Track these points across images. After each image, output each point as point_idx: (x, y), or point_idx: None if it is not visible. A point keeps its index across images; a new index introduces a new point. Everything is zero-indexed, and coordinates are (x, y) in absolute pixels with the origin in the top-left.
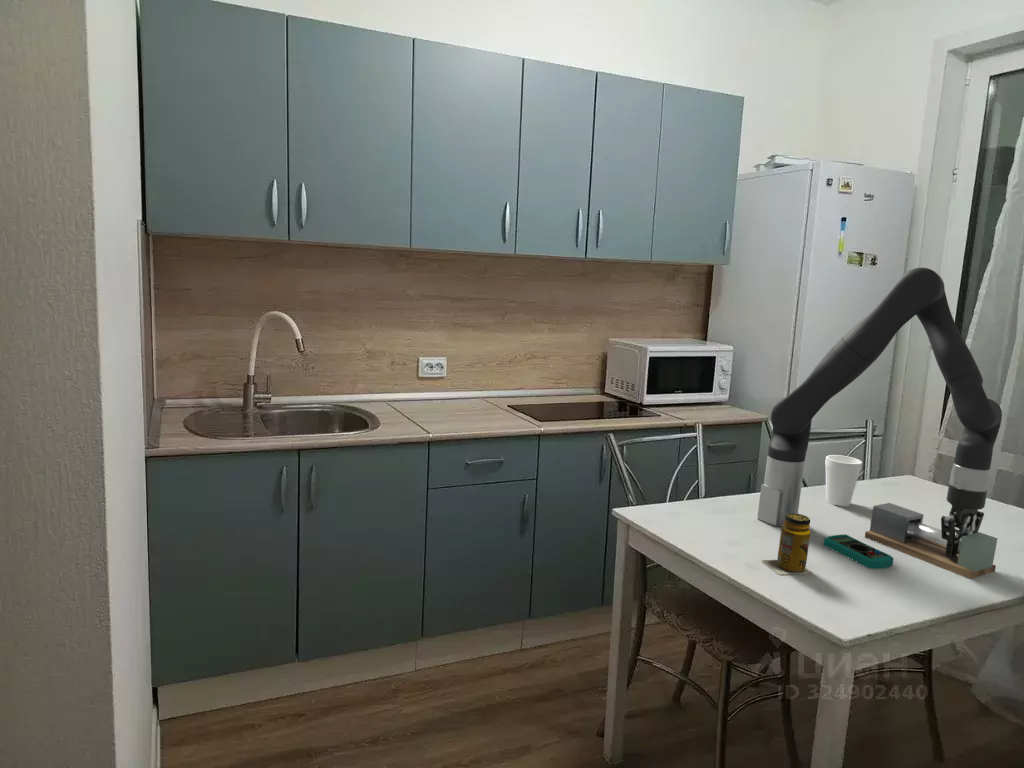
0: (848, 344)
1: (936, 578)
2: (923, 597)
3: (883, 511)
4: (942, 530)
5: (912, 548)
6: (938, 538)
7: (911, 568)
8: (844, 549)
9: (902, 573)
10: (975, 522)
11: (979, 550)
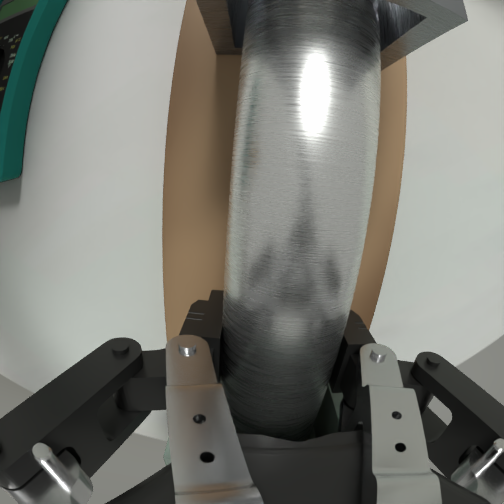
0: None
1: (67, 311)
2: None
3: None
4: (62, 382)
5: (188, 116)
6: (228, 254)
7: (53, 221)
8: None
9: (6, 232)
10: (445, 456)
11: None
